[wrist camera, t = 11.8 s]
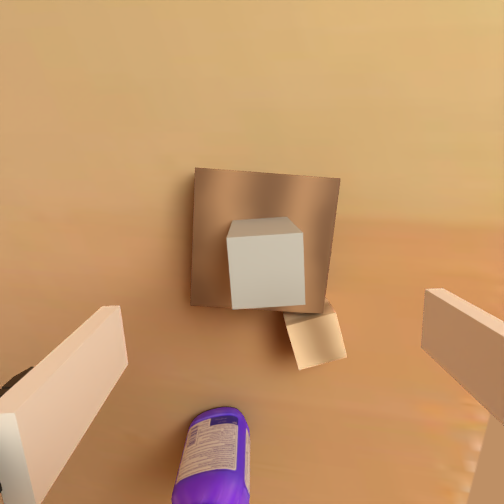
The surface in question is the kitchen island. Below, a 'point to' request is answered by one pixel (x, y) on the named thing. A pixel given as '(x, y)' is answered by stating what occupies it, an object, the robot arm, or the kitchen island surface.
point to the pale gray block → (266, 263)
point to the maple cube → (315, 336)
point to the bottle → (215, 460)
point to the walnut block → (256, 207)
